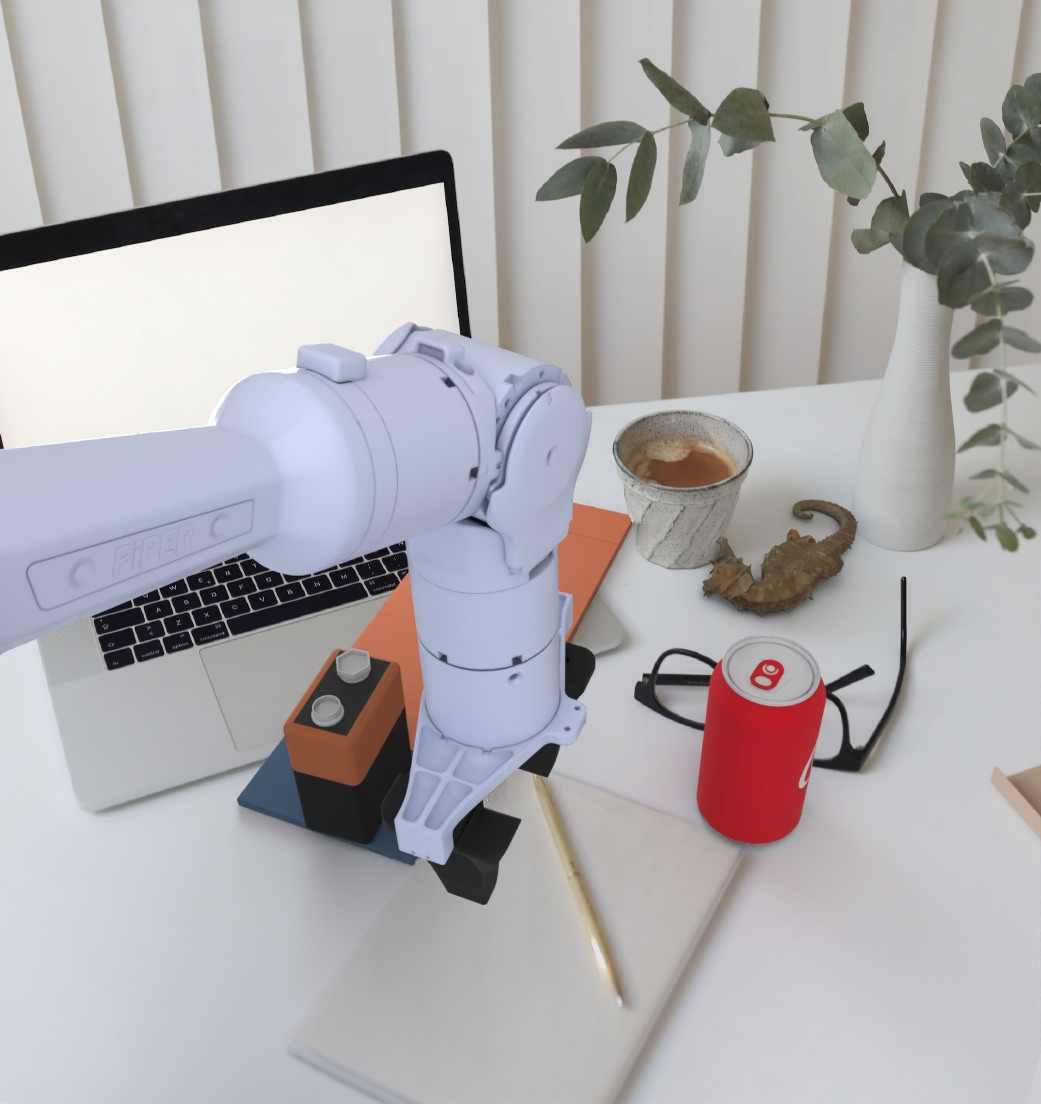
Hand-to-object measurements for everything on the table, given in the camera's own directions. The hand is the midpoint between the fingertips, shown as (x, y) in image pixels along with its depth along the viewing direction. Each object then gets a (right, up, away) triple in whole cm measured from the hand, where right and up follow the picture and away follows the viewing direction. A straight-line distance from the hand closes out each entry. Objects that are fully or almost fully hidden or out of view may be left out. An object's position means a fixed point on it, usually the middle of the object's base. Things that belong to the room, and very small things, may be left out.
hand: (501, 826), depth 51 cm
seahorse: (+21, +12, +31) cm, 40 cm away
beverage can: (+15, -2, +13) cm, 20 cm away
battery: (-9, -2, +14) cm, 17 cm away
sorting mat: (-3, +7, +25) cm, 26 cm away
